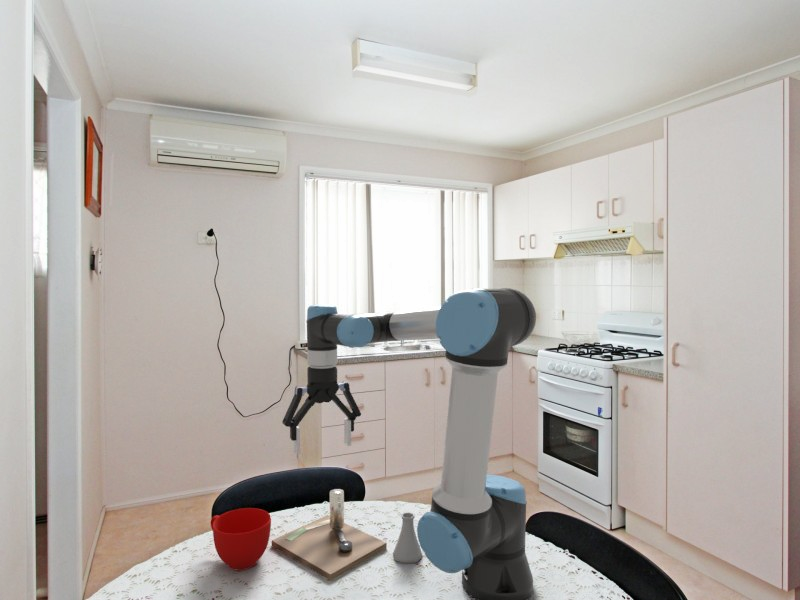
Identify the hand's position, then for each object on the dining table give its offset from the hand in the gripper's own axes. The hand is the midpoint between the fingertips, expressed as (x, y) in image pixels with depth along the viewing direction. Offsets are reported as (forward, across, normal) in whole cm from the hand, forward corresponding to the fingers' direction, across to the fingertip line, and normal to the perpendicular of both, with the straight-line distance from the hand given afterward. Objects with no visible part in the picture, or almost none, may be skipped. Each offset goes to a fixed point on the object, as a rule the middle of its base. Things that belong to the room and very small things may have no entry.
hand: (323, 448), depth 133 cm
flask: (+23, -14, +19) cm, 33 cm away
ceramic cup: (+23, +22, +1) cm, 32 cm away
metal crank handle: (+21, -2, +6) cm, 22 cm away
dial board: (+23, +1, +6) cm, 24 cm away
